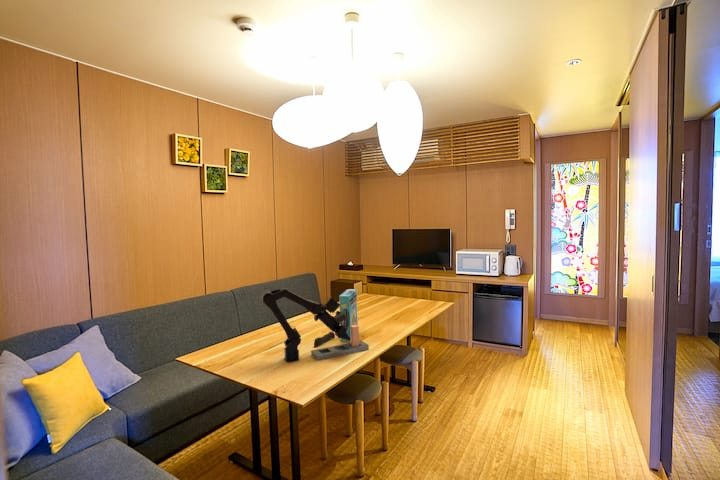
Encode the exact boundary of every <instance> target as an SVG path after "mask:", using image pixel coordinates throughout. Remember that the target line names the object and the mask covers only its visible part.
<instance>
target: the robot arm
mask: <svg viewBox="0 0 720 480" xmlns="http://www.w3.org/2000/svg"><path fill="white" fill-rule="evenodd" d="M282 298H286V299H288V300H289V301H292V302H295V303H296V304H298V305H300V306H301V307H303V308H305V309H306V310H308V312H310V313H311V314H312V315H313V320H314V321H315V322H317V321H318V320H319V321H320V322H322V323H323V324H324V325H325V326H326V327H327V328H328V329H329V330H331V332H334V334H335V337H337V338H338V339H341V338H342V339H346V340H350V337H349V336H348V334H347V333H346V331H347V329H346V328H345V327H344V326H343V325H340V324H341V323H340V322H341V321H343V320H346V319H347V317H346V315H345V313H344V312H340V310H338V308H340V303H339V301H337V300H335V299H334V298H333V297H331V296H330V297H329V298H328V300H327V301H326V303H318V302H316V301H314V300H311V299H306V298H305V297H303V296H300V295H298V294H296V293H294V292H292V291H290V289H289V290H288V289H287V288H286V287H282V288H279V289H274V290H270V291H269V290H265V291H263V293H261V299H262V302H263V303H264V305H266V306H267V308H269V309H270V310H271V312H272V313H273V315H274V316H275V318H276V319H277V321H278V322H279V324H280V326H281V327H282V329H283V331H284V332H285V336H286V339H285V341H284V342H283V344H284V346H285V347H284V357H283V359H284V361H285V362H286V363H291V362H297V361H299V360H300V350H299V349H298V348H299V346H300V344H301V341H302V339H301V337H302V335H301V334H300V333H299V332H298V330H297V328H296V327H294V328H292V326H291V325H290V323H289V322H288V320H287V319H286V317H285V316H284V313H282V311H281V309H280V308H279V307H278V306H279V305H278V303H277V301H279V300H280V299H282ZM334 313H335V315H331V314H334Z"/></svg>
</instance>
